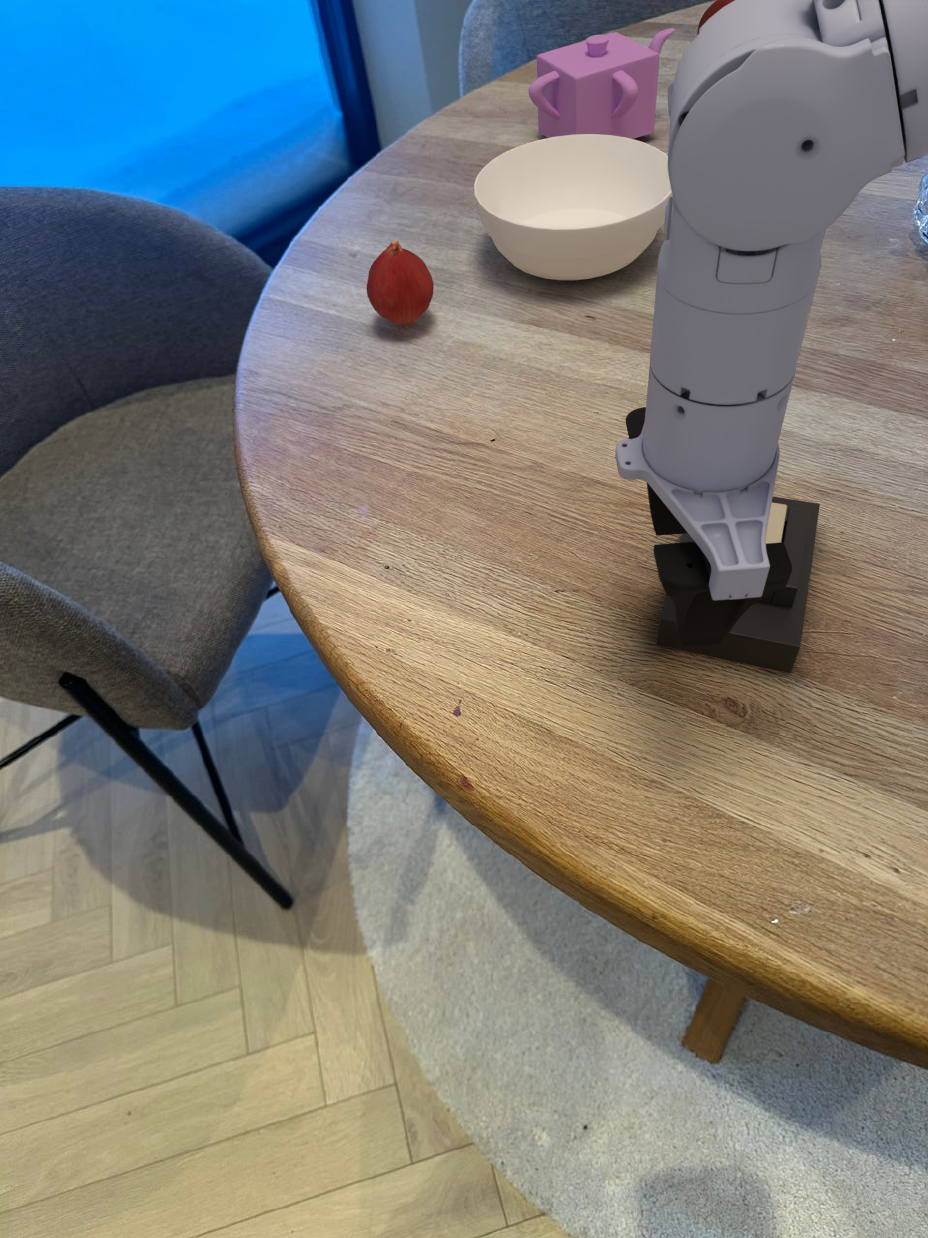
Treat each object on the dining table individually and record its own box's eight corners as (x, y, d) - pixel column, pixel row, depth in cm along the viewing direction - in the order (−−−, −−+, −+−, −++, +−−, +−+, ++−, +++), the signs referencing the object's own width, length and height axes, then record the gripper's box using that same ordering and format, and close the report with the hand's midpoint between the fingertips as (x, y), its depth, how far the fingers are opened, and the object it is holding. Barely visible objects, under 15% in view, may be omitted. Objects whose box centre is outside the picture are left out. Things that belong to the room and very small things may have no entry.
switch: (721, 517, 53) (725, 494, 52) (781, 527, 52) (787, 504, 51) (712, 558, 51) (716, 536, 50) (774, 569, 50) (780, 547, 49)
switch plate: (690, 512, 59) (698, 463, 56) (810, 532, 57) (826, 482, 54) (655, 645, 53) (662, 599, 49) (790, 674, 50) (807, 627, 47)
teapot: (637, 98, 103) (643, -1, 95) (705, 138, 95) (718, 33, 87) (505, 140, 99) (500, 40, 91) (564, 184, 91) (564, 79, 83)
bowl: (711, 246, 80) (721, 167, 75) (576, 331, 74) (576, 252, 68) (572, 191, 90) (572, 117, 84) (441, 262, 84) (432, 187, 78)
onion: (363, 336, 77) (344, 251, 71) (395, 302, 80) (380, 218, 74) (418, 349, 75) (404, 263, 69) (449, 314, 78) (438, 228, 72)
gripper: (600, 276, 39) (594, 493, 50) (649, 494, 30) (628, 702, 41) (756, 261, 39) (716, 483, 49) (854, 477, 30) (779, 692, 40)
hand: (685, 582), depth 45 cm, fingers open, 7 cm apart
